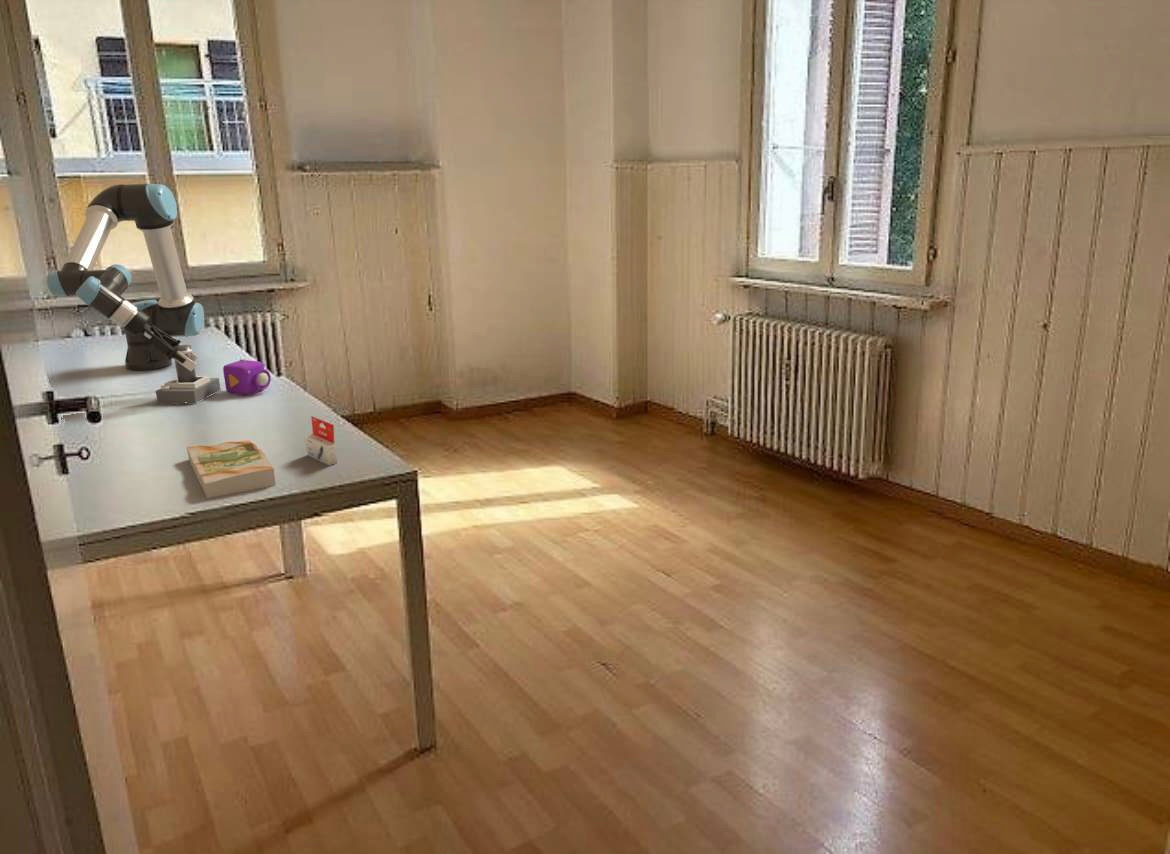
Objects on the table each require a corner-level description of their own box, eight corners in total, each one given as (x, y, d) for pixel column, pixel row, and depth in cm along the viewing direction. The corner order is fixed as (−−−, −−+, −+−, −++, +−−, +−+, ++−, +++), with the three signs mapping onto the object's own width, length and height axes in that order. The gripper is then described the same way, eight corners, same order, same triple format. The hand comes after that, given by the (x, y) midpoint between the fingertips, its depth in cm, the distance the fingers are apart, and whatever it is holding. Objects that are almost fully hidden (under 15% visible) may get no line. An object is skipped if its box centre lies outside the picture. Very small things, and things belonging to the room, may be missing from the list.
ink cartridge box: (328, 466, 207) (324, 426, 204) (306, 455, 214) (302, 417, 212) (338, 463, 208) (334, 424, 206) (315, 453, 216) (311, 415, 213)
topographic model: (276, 486, 195) (273, 465, 194) (207, 500, 188) (203, 478, 187) (251, 451, 220) (248, 432, 218) (189, 461, 213) (186, 442, 211)
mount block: (184, 390, 278) (181, 373, 276) (220, 390, 277) (218, 373, 276) (157, 403, 263) (154, 386, 261) (196, 403, 262) (193, 386, 260)
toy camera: (261, 397, 268) (257, 366, 265) (221, 395, 271) (217, 364, 268) (279, 388, 278) (276, 358, 275) (241, 387, 281) (237, 357, 278)
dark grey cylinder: (184, 382, 271) (177, 344, 268) (200, 382, 271) (194, 344, 267) (175, 386, 266) (168, 348, 263) (191, 386, 266) (185, 348, 262)
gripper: (125, 321, 268) (187, 365, 278) (118, 335, 247) (185, 381, 257) (141, 303, 268) (203, 347, 279) (135, 315, 247) (202, 362, 258)
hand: (194, 364), depth 268 cm, fingers open, 11 cm apart
